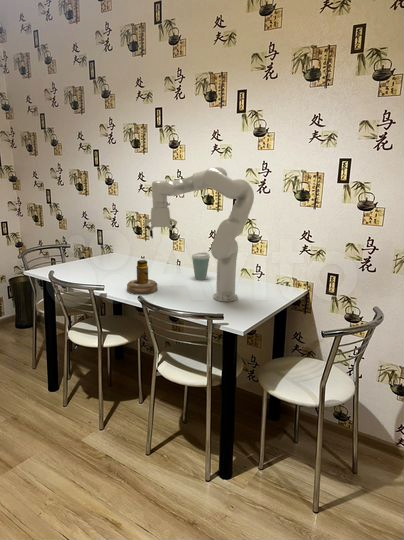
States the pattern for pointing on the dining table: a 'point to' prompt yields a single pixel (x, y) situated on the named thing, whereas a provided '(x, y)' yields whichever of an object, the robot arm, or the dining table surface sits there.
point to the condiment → (141, 273)
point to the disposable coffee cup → (200, 265)
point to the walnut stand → (142, 287)
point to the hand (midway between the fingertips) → (161, 237)
